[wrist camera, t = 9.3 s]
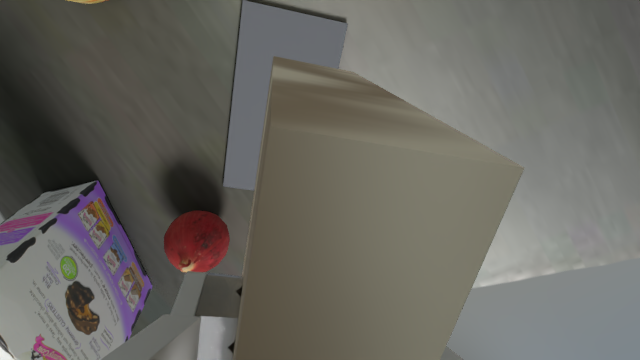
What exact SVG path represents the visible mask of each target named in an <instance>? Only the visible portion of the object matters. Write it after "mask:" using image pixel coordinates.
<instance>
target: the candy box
mask: <svg viewBox="0 0 640 360" xmlns="http://www.w3.org/2000/svg"><path fill="white" fill-rule="evenodd" d="M151 290H152V285H151V282H150V280H149V278H148V276H147V274H146V272H145V271H144V269H143V267H142V265H141V263H140V260H139V258H138V257H137V255H136V253H135V251H134V249H133V247H132V245H131V243H130V241H129V239H128V237H127V235H126V233H125V232H124V230H123V228H122V226H121V224H120V222H119V220H118V218H117V216H116V214H115V212H114V211H113V209H112V207H111V205H110V203H109V201H108V199H107V196H106V194H105V193H104V191H103V189H102V187H101V185H100V183H99V181H93V182H89V183H85V184H80V185H76V186H72V187H67V188H62V189H56V190H53V191H49V192H45V193H43V194H41V195H40V196H39V197H37V198H36V199H34V200H33V201H32V202H30V203H29V204H28V205H26V206H25V207H23V208H22V209H20V210H19V211H18V212H16V213H15V214H13V215H12V216H11V217H9V218H8V219H7V220H5V221H4V222H3V223H1V224H0V360H101V359H102V358H103V357H105V356H106V355H108V354H109V353H111V352H112V351H113V350H115V349H116V348H118V347H119V346H120V345H122V344H123V343H125V342H126V341H127V340H129V338H130V335H131V333H132V331H133V328H134V326H135V324H136V322H137V320H138V317H139V315H140V313H141V311H142V309H143V307H144V305H145V302H146V300H147V298H148V296H149V293H150V292H151Z"/></svg>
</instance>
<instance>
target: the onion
mask: <svg viewBox="0 0 640 360" xmlns="http://www.w3.org/2000/svg"><path fill="white" fill-rule="evenodd" d="M228 245H229V232H228V229H227V225H226V224H225V223H224V222H223V221H222V220H221V218H220V217H219V216H218V215H216V214H213V213H211V212H208V211H191V212H187V213H184V214H182V215H181V216H179V217H178V218H177V219H175V220H174V221H173V222H172V223H171V225H170V226H169V228H168V230H167V232H166V233H165V236H164V250H165V253H166V255H167V257H168V259H169V261H170V262H171V263H172V264H173V265H174V266H175V267H176V268H177V269H179V270H181V271H182V272H187V271H193V272H206V271H208V270H210V269H212V268H213V267H215V266H217V265H218V264H219V262H220V261H221V260H222V259H223V257H224V256H225V255H226V253H227V250H228Z"/></svg>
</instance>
